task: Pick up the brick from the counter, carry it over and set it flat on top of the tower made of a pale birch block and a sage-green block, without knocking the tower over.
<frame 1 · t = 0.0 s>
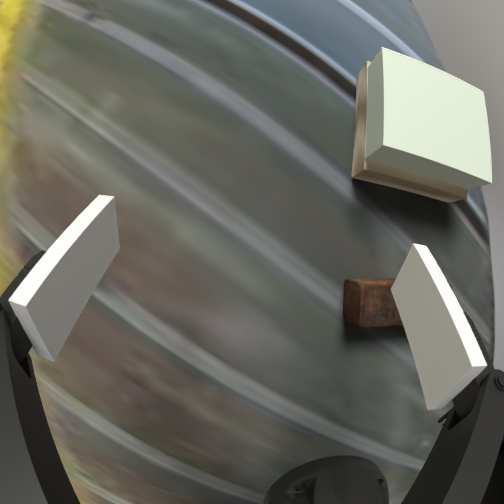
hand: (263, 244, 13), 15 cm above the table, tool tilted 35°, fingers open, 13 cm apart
brick: (390, 297, 29), on the table
top block: (421, 127, 25), point 3 cm above the table, touching base block
base block: (403, 139, 29), on the table, touching top block
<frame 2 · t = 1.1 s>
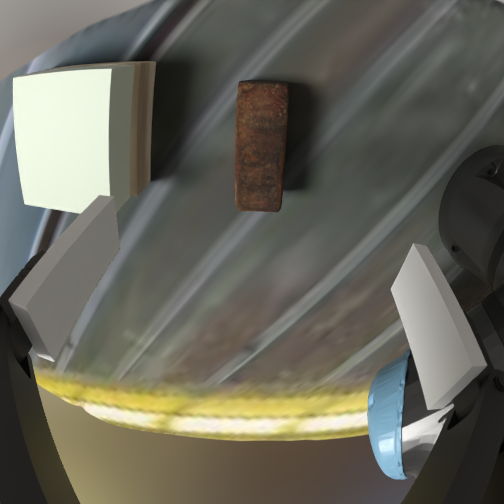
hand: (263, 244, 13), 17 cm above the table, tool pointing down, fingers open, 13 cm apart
brick: (262, 136, 27), on the table
top block: (81, 131, 23), point 3 cm above the table, touching base block
base block: (99, 120, 26), on the table, touching top block
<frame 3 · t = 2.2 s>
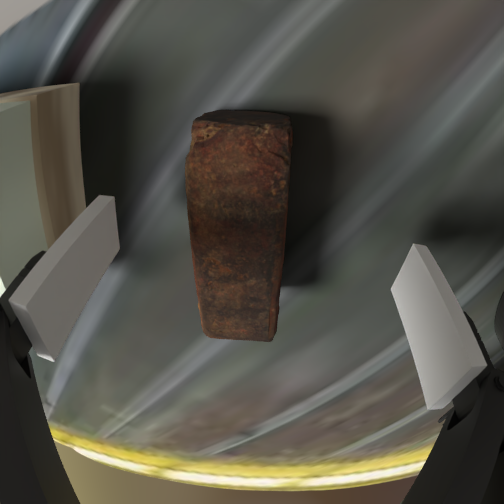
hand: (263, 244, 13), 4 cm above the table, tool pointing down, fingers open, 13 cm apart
brick: (247, 206, 17), on the table
base block: (21, 175, 16), on the table, touching top block
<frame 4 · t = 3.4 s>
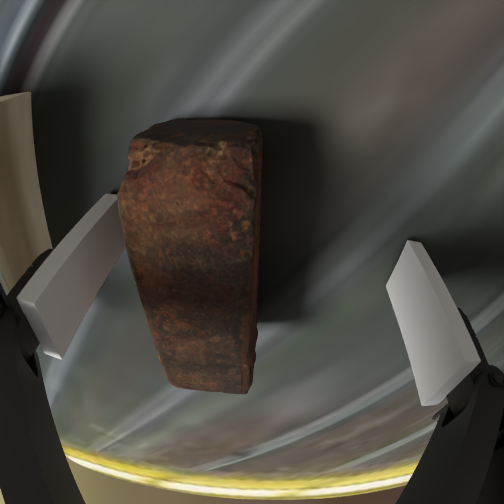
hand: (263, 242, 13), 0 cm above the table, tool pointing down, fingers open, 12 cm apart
brick: (216, 234, 14), on the table
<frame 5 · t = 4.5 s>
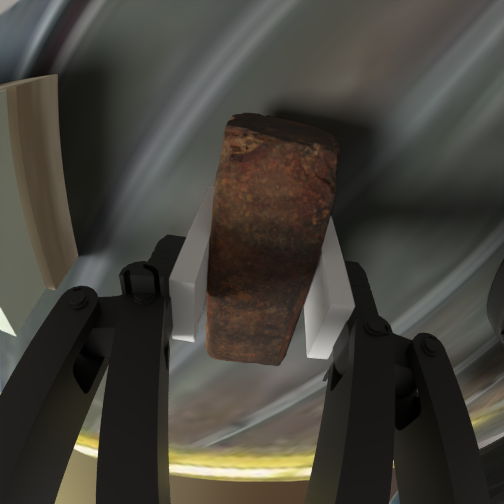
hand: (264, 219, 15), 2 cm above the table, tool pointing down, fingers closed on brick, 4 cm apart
brick: (263, 220, 15), point 1 cm above the table, touching gripper
base block: (4, 168, 15), on the table, touching top block
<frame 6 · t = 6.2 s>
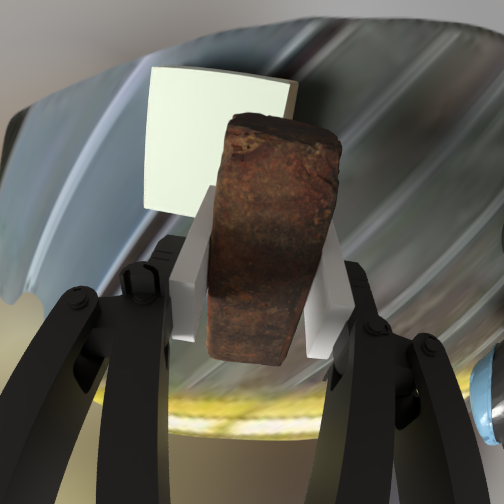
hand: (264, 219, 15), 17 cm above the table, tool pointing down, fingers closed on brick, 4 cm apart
brick: (264, 220, 15), point 16 cm above the table, touching gripper
top block: (217, 137, 26), point 4 cm above the table, touching base block
base block: (225, 130, 29), on the table, touching top block
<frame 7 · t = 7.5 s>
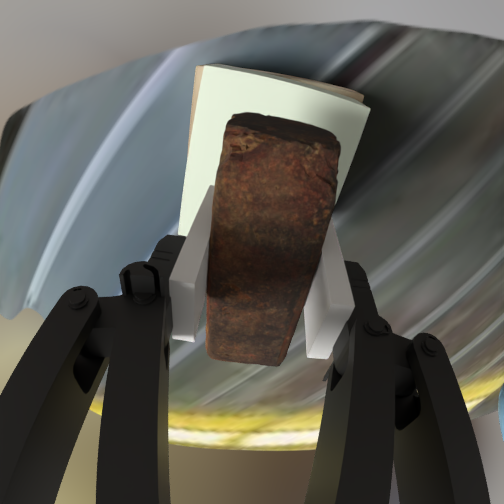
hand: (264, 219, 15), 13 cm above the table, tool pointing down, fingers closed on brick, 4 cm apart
brick: (263, 220, 15), point 13 cm above the table, touching gripper
top block: (267, 154, 23), point 3 cm above the table, touching base block
base block: (268, 140, 26), on the table, touching top block
when the fingers open (9 cm above the table, at t = 9.1 s): brick drops 1 cm, resting on top block.
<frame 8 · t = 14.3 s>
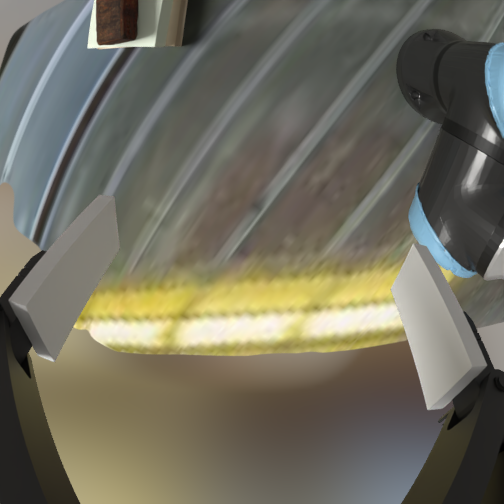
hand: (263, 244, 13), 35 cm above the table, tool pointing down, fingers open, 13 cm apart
brick: (126, 6, 27), point 7 cm above the table, touching top block
top block: (138, 7, 30), point 3 cm above the table, touching base block, brick
base block: (149, 10, 33), on the table, touching top block
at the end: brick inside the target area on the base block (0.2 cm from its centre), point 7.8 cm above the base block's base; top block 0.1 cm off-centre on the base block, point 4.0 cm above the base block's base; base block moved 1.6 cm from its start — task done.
